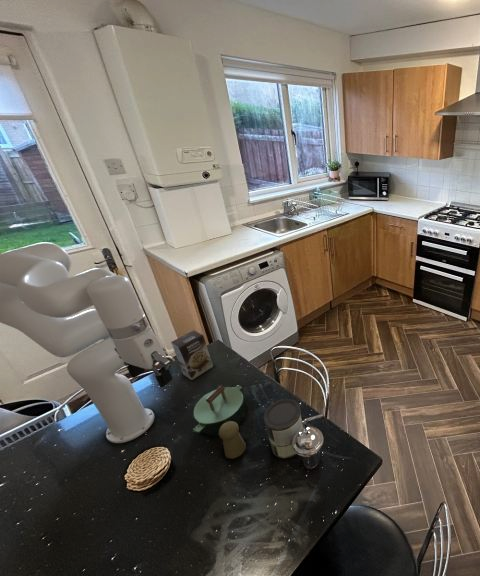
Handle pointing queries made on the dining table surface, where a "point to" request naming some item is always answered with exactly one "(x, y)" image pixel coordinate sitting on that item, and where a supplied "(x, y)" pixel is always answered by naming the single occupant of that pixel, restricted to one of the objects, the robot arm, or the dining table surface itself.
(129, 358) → the robot arm
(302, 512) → the dining table surface
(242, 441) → the cork
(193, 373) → the coffee box
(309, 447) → the cup with straw
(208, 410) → the lid
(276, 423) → the coffee can
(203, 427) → the pot
